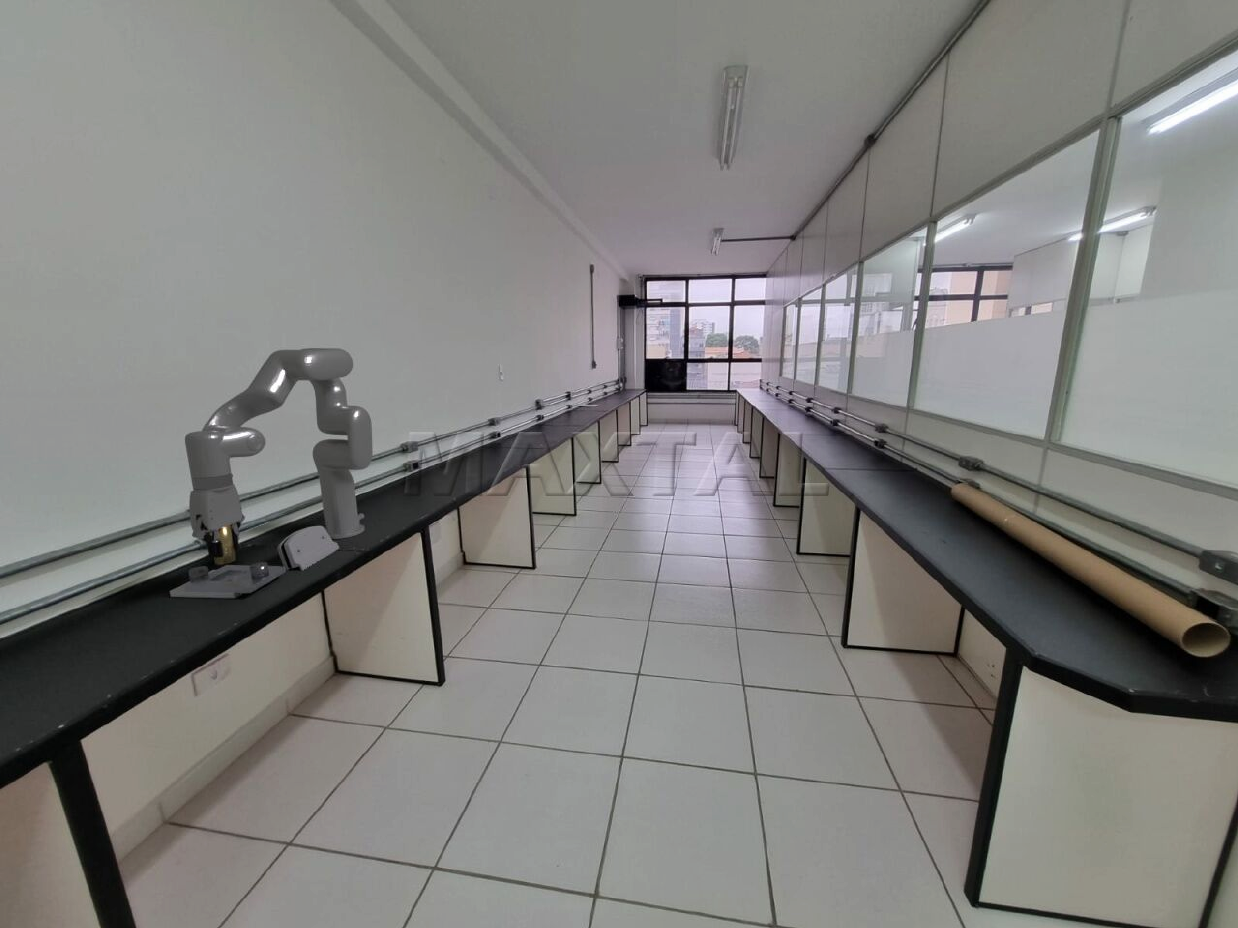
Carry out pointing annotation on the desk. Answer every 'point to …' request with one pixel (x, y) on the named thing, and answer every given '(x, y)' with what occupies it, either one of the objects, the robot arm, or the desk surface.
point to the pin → (226, 546)
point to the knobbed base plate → (227, 580)
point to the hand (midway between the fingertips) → (224, 552)
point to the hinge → (306, 547)
